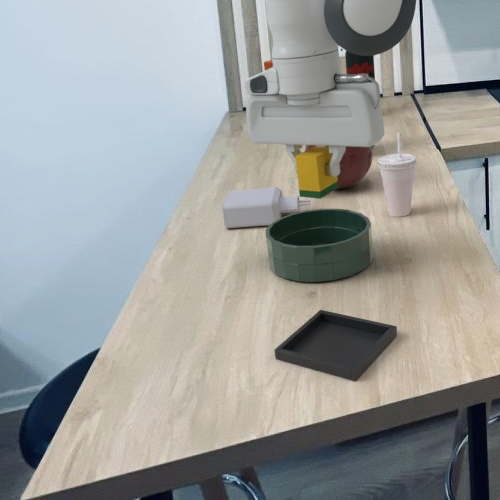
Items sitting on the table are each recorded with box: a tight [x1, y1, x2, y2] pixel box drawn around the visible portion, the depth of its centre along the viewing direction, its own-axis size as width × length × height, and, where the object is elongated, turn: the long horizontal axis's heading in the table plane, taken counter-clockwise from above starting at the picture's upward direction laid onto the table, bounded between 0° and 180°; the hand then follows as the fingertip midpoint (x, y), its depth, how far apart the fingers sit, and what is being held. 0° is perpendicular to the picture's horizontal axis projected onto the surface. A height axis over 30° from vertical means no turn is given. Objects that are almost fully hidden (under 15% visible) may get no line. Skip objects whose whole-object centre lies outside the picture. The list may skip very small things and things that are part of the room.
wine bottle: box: [344, 50, 376, 82], centre depth 181 cm, size 8×10×30 cm
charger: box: [222, 186, 311, 229], centre depth 118 cm, size 5×9×15 cm
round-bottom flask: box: [304, 145, 374, 190], centre depth 126 cm, size 13×13×20 cm
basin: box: [265, 208, 374, 283], centre depth 97 cm, size 15×15×6 cm
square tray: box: [273, 309, 398, 382], centre depth 75 cm, size 10×10×2 cm
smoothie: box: [377, 132, 418, 218], centre depth 110 cm, size 6×6×14 cm
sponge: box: [295, 147, 338, 200], centre depth 93 cm, size 4×5×6 cm
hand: (317, 174), depth 93 cm, fingers closed on sponge, 3 cm apart
